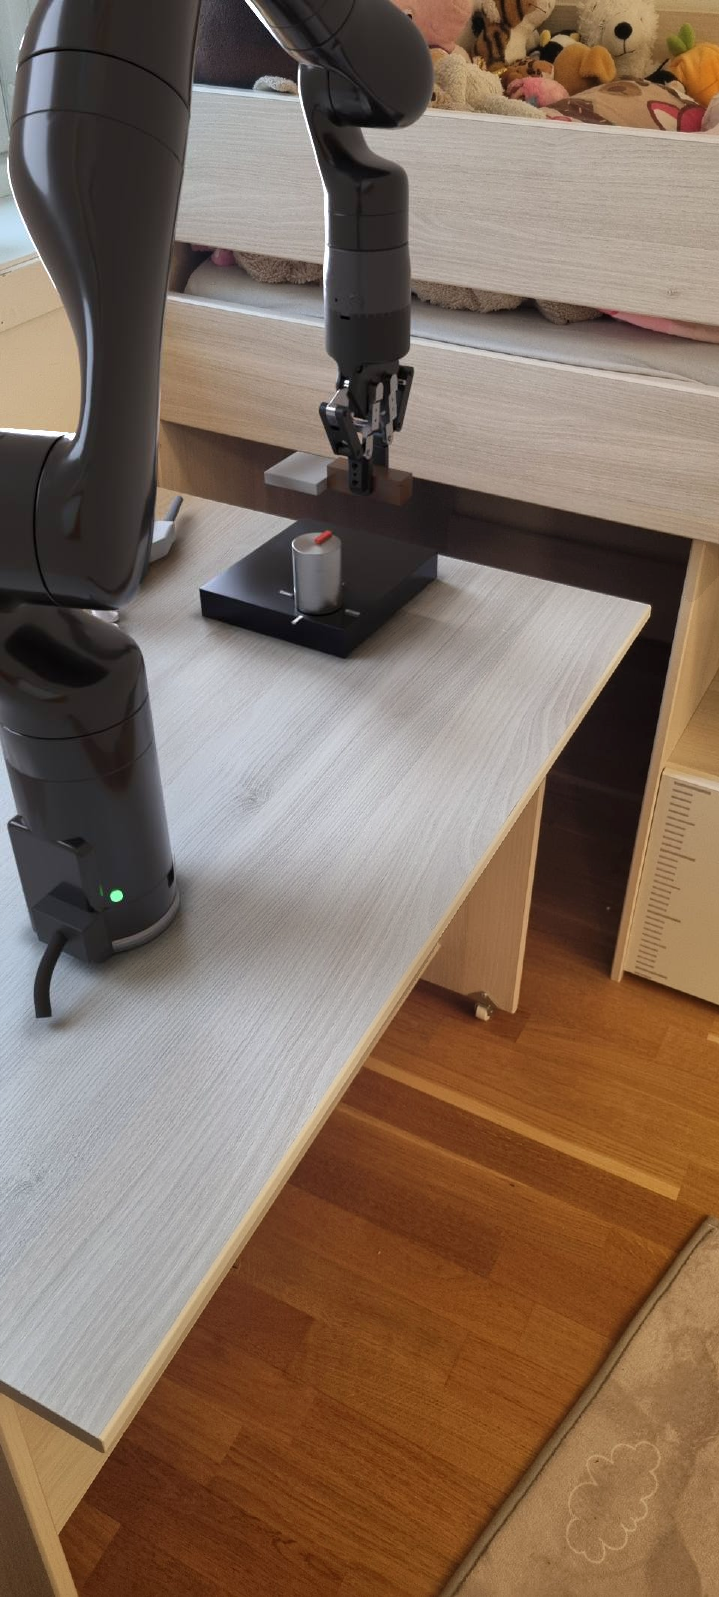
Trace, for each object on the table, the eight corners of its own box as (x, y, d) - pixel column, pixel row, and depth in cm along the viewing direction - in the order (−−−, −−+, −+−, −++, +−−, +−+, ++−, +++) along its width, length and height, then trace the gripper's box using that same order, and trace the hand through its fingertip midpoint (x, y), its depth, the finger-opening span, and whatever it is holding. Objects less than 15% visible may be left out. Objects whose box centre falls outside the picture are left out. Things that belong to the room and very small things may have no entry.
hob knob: (326, 619, 108) (324, 555, 104) (285, 607, 109) (282, 544, 105) (351, 598, 110) (350, 535, 107) (311, 587, 112) (309, 525, 108)
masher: (421, 489, 114) (421, 465, 113) (390, 513, 110) (390, 488, 109) (298, 462, 120) (297, 438, 118) (264, 483, 116) (263, 459, 114)
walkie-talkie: (153, 595, 118) (190, 509, 134) (148, 554, 115) (186, 471, 131) (66, 593, 118) (112, 508, 134) (58, 552, 116) (107, 470, 131)
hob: (337, 665, 107) (336, 634, 105) (193, 622, 114) (190, 592, 112) (437, 577, 120) (438, 548, 118) (303, 543, 127) (302, 515, 125)
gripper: (370, 272, 109) (371, 455, 120) (286, 312, 100) (296, 506, 110) (443, 283, 106) (438, 469, 117) (364, 324, 97) (366, 524, 107)
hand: (368, 487), depth 114 cm, fingers closed on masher, 2 cm apart
